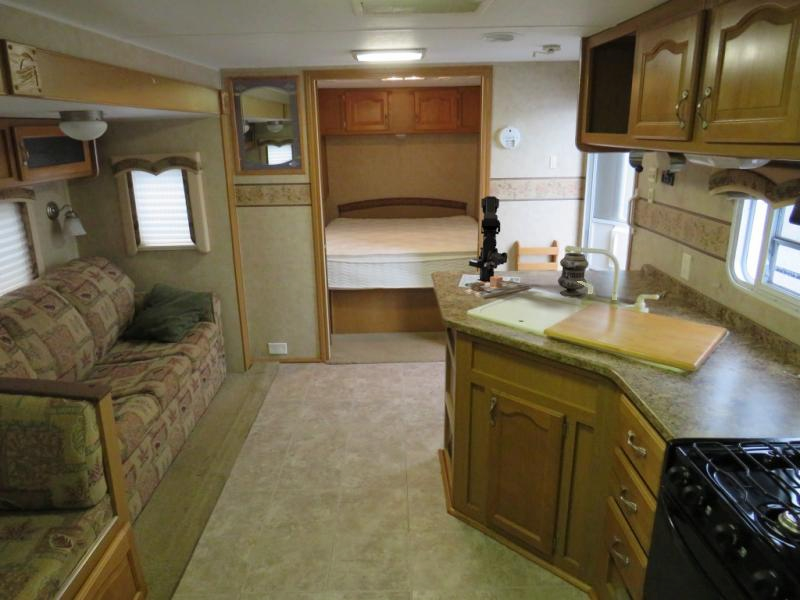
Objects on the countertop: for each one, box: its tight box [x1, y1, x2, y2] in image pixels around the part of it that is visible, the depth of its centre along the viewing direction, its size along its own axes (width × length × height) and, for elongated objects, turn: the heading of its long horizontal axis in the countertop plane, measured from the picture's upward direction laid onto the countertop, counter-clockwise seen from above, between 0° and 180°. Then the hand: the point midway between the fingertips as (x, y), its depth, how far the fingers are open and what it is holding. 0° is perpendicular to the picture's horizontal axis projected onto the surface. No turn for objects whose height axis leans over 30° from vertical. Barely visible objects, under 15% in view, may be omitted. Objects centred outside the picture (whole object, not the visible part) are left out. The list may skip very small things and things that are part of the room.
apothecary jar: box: [557, 252, 589, 298], centre depth 239 cm, size 12×12×18 cm
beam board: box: [464, 280, 531, 299], centre depth 248 cm, size 12×30×2 cm, turn 127°
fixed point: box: [470, 281, 490, 292], centre depth 242 cm, size 10×4×3 cm, turn 37°
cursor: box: [489, 275, 509, 287], centre depth 248 cm, size 10×4×4 cm, turn 37°
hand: (487, 279), depth 247 cm, fingers closed
